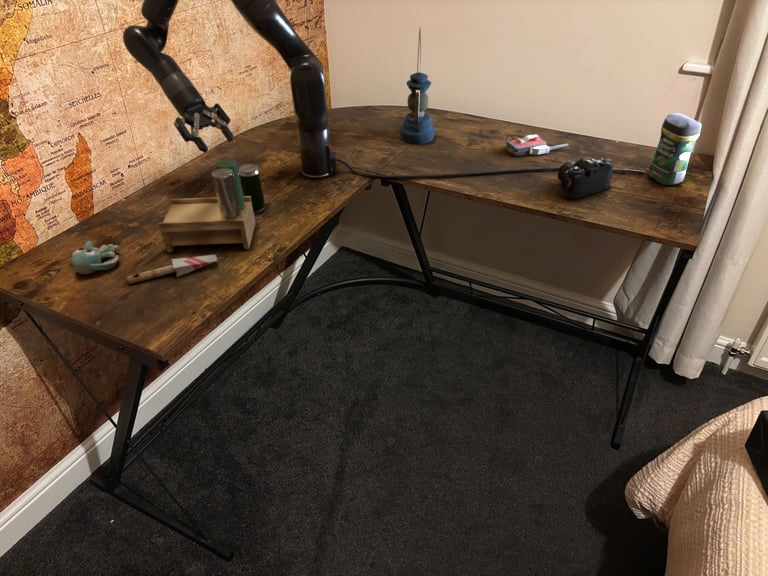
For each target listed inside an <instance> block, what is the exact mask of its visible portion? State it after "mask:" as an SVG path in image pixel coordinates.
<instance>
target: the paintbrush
mask: <svg viewBox="0 0 768 576" xmlns="http://www.w3.org/2000/svg"><path fill="white" fill-rule="evenodd" d="M216 262H218V257H217V254H208V255H207V254H206V255H199V256H189V257H181V258H179V257H178V258H171V263H172V264H170V265H166V266H163V267H159V268H155V269H150V270H147V271H143V272H139V273H136V274H131V275H127V276H126V280H127V283H128V284H129V285H132V284H135V283H138V282H144V281H147V280H150V279H154V278H158V277H161V276H166V275H169V274H173V273H175V275H176V278H178V277H181V276H183V275H187V274H190V273H191V272H193V271H195V270H198V269H201V268H204V267H206V266H208V265H211V264H214V263H216Z"/></svg>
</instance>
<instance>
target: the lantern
mask: <svg viewBox="0 0 768 576" xmlns="http://www.w3.org/2000/svg"><path fill="white" fill-rule="evenodd" d="M418 30H419V31H418V43H419V44H418V48H417V59H419V61H417V62H416V63H417V64H416V65H417V68H416V72H415V73H412V74H411V75H410V76H409V79H408V80H407V81H406V86H407V87H408V89H409V90H410V93H409V94H408V96H407V108H408V109H409V110H410V111H411V112H409V113H406V115H405V117H404V118H405V119H404V120H403V124H402V125H401V126H400V128H399V132H400V136H401V139H402V140H403V141H404V142H405V143H408V144H412V145H422V144H423V145H424V144H428V143H430V142H431V141H433V140H434V137H435V134H436V127H435V125H433V120H432V119H431V115H430V114H429V113H427V112H425V111H426V110H427V108H428V107H429V95H428V94H427V93H426V92H427V91H428V90H429V89H430V86H431V85H432V81H431V80H429V76H428V74H426V73H424V72H422V36H421V34H422V33H421V28H419V29H418Z"/></svg>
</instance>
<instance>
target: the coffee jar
mask: <svg viewBox="0 0 768 576" xmlns="http://www.w3.org/2000/svg"><path fill="white" fill-rule="evenodd" d="M701 129H702V123H701V122H700V121H697V120H695V119H693V118H691V117H689V116H687V115H685V114H682V112H676V113H670V114H668V115H666V116H665V118H664V120H663V122H662V125H661V128H660V137H659V141H658V144H657V147H656V149H655V152H654V155H653V157H652V160H651V162H650V163H649V167H648V170H647V175H648V176H649V177H650V178H652V180H654V181H656V182H658V183H659V184H662V185H665V186H666V185H667V186H676V185H678V184H681V183H683V181H684V180H685V175H686V173H687V172H686V171H687V169H688V165H689V160H690V157H691V154H692V151H693V147H694V145H695V143H696V141H697V140H698V138H699V137H700V134H701Z"/></svg>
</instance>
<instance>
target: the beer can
mask: <svg viewBox="0 0 768 576" xmlns="http://www.w3.org/2000/svg"><path fill="white" fill-rule="evenodd" d="M238 172H239V177H240V183H241V188H242V193H243V196H251V202H252V207H253V212H254V214H258V213H261V212H262V211H264V210H265V208H266V202H265V195H264V190H263V183H262V177H261V171H260V168H259V167H258V165H256V164H255V163H254V164H253V163H249V164H248V163H247V164H243V165H241V166H240V167H239V168H238Z"/></svg>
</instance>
